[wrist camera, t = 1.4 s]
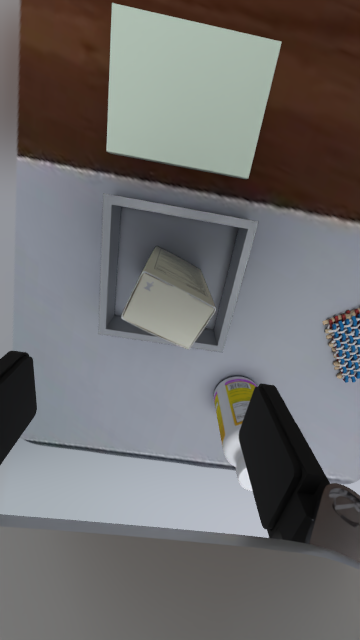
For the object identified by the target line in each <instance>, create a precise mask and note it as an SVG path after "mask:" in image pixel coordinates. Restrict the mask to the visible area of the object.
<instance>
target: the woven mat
mask: <svg viewBox="0 0 360 640" xmlns="http://www.w3.org/2000/svg"><path fill="white" fill-rule="evenodd" d="M359 313H360V308H357V309H354V310H352V311H351V312H350V311H349V310H348V311H346V314H341V315H339V316H335V317H333V318H330V319H328V320H325V321H323V325H325V324H328V328H327V329H325V332H326V333H331V334H329V335H327V336H326V338H327V339H329V338H333V340H332V341H331V342H330V343H329V346H330V347H332V351H336V352H335V354H334V355H333V356H334V358H336V359H337V361H334V366H336V367H334V369H335V370H337V369H340V370H341V372H340V373H339V374H337V377H338V378H339V379H340V378H343V380H344V381H345V382H348V378H349V377H351V379H352V382H355V381H356V380H355V377H356V378H360V314H359ZM355 316H356V317H355ZM339 320H342V321H339ZM333 322H336V324H334V323H333ZM338 336H339V337H338ZM342 355H343V356H342ZM350 359H351V360H350ZM351 366H352V367H351ZM354 376H355V377H354Z"/></svg>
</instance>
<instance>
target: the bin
mask: <svg viewBox="0 0 360 640" xmlns="http://www.w3.org/2000/svg"><path fill="white" fill-rule="evenodd" d="M121 206H123V207H128V208H134V209H140V210H145V211H151V212H156V213H162V214H167V215H173V216H178V217H184V218H190V219H195V220H201V221H206V222H212V223H217V224H223V225H228V226H234V227H239V230H238V234H237V238H236V242H235V246H234V250H233V254H232V258H231V262H230V266H229V270H228V274H227V278H226V282H225V286H224V290H223V294H222V298H221V302H220V307H219V311H218V315H217V319H216V323H215V327H214V331H213V330H207V329H203V331H202V332H201V334H200V335H199V337H198V338H197V339H196V341H195V342H194V343H193V345H192V346H191V348H194V349H201V350H208V351H215V352H221V353H223V349H224V346H225V342H226V339H227V335H228V331H229V328H230V324H231V320H232V317H233V313H234V310H235V306H236V302H237V299H238V295H239V291H240V288H241V284H242V280H243V277H244V273H245V270H246V266H247V262H248V259H249V255H250V251H251V248H252V244H253V241H254V237H255V233H256V230H257V226H258V221H252V220H247V219H241V218H236V217H230V216H225V215H219V214H214V213H209V212H203V211H198V210H192V209H187V208H181V207H176V206H170V205H165V204H159V203H154V202H148V201H143V200H137V199H132V198H126V197H121V196H115V195H110V194H104V193H103V214H102V243H101V272H100V300H99V329H98V334H100V335H107V336H114V337H120V338H127V339H134V340H141V341H147V342H154V343H161V344H168V345H174V346H178V345H176V344H173V343H171V342H169V341H166V340H164V339H162V338H160V337H157V336H155V335H153V334H151V333H149V332H147V331H144V330H142V329H140V328H138V327H136V326H134V325H132V324H130V323H128V322H127V321H125V320H123V319H122V318H121V316H115V315H114V314H115V298H116V282H117V266H118V250H119V234H120V218H121Z"/></svg>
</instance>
